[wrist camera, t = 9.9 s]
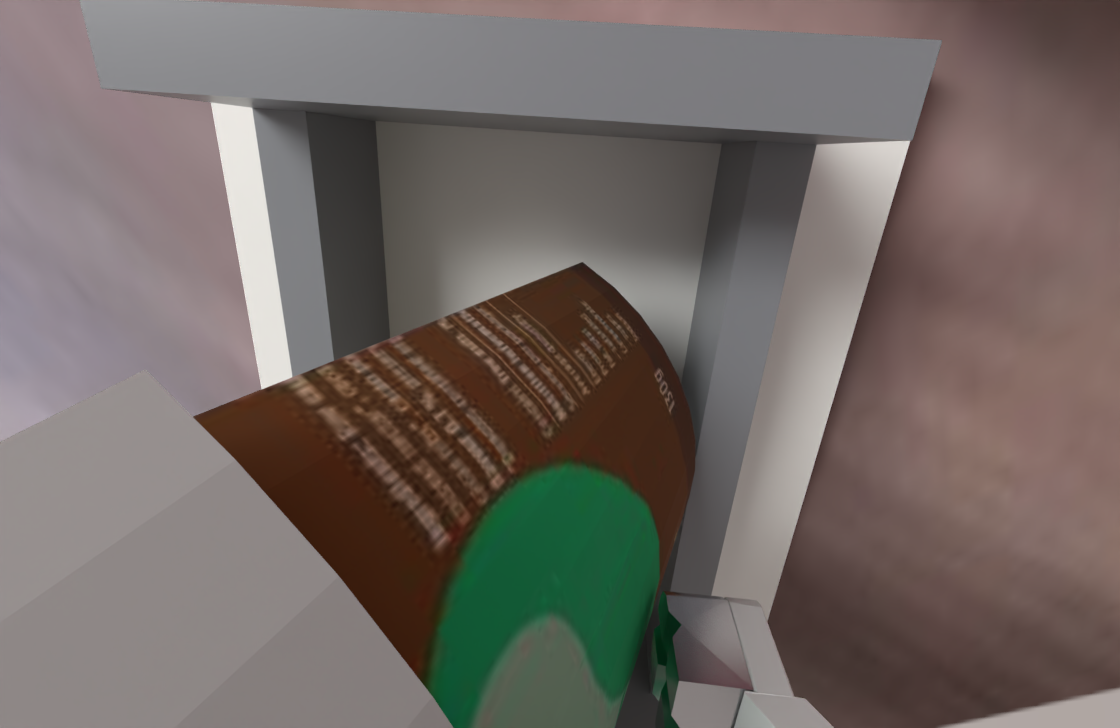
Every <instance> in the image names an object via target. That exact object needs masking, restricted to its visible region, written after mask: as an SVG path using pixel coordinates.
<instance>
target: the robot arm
mask: <svg viewBox="0 0 1120 728" xmlns="http://www.w3.org/2000/svg"><path fill="white" fill-rule="evenodd" d="M658 613H659V622H660V625H659V626H657V627H656V628H655V629H654V633H653V640H652V649H651V682H652V693H653V695H654V696H655V697H656V699H657V700H658V701H659V704H658V709H657V714H656V720H655V726H656V728H834V727H833V726H832V725H831V724H830V723H829V722H828V721H827V720H826V719H825V718H824V717H823V716H822V715H821V714H820V713H819V712H818V711H817V710H816V709H815V708H814V707H813V706H812V705H811V704H810V703H809V702H808V701H807V700H806V699H805V698H799V697H795V696H794V693H793V691H792V688H791V685H790V682H789V680H788V677H787V674H786V671H785V669H784V666H783V663H782V661H781V658H780V655H779V652H778V650H777V647H776V644H775V641H774V639H773V636H772V633H771V630H770V628H769V625H768V622H767V620H766V617H765V614H764V611H763V609H762V606H761V605H760V603H759V602H758V601H757V600H750V599H740V598H731V597H725V598H723V597H719V596H710V595H700V594H690V593H681V592H671V591H663V592H662V594H661V596H660V601H659V606H658Z"/></svg>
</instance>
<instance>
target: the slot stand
mask: <svg viewBox="0 0 1120 728" xmlns="http://www.w3.org/2000/svg"><path fill="white" fill-rule="evenodd" d="M80 5H81V9H82V13H83V17H84V21H85V25H86V29H87V33H88V37H89V41H90V45H91V49H92V53H93V57H94V61H95V65H96V69H97V73H98V77H99V81H100V85H101V88H102V89H110V90H118V91H125V92H133V93H141V94H149V95H157V96H164V97H172V98H180V99H188V100H196V101H203V102H211V105H212V111H213V117H214V122H215V128H216V134H217V139H218V145H219V151H220V156H221V162H222V168H223V173H224V179H225V185H226V190H227V196H228V202H229V207H230V213H231V219H232V224H233V230H234V235H235V241H236V247H237V252H238V258H239V264H240V269H241V275H242V281H243V286H244V292H245V298H246V303H247V309H248V315H249V320H250V326H251V332H252V337H253V343H254V349H255V354H256V360H257V366H258V371H259V377H260V383H261V388H262V389H264V388H267V387H269V386H272V385H274V384H277V383H279V382H282V381H284V380H287V379H289V378H292V377H294V376H297V375H299V374H302V373H304V372H307V371H309V370H312V369H314V368H317V367H319V366H322V365H324V364H327V363H329V362H332V361H334V360H337V359H339V358H342V357H345V356H347V355H350V354H352V353H355V352H357V351H360V350H362V349H365V348H367V347H370V346H372V345H375V344H377V343H380V342H382V341H385V340H387V339H390V338H392V337H395V336H397V335H400V334H402V333H405V332H407V331H410V330H412V329H415V328H417V327H420V326H422V325H425V324H427V323H430V322H433V321H435V320H438V319H440V318H443V317H445V316H448V315H450V314H453V313H455V312H458V311H460V310H463V309H465V308H468V307H470V306H473V305H475V304H478V303H480V302H483V301H485V300H488V299H490V298H493V297H495V296H498V295H500V294H503V293H505V292H508V291H510V290H513V289H515V288H518V287H521V286H523V285H526V284H528V283H531V282H533V281H536V280H538V279H541V278H543V277H546V276H548V275H551V274H553V273H556V272H558V271H561V270H563V269H566V268H568V267H571V266H573V265H576V264H578V263H581V262H583V263H584V264H586V265H587V266H588V267H590V268H591V269H592V270H593V271H595V272H596V273H597V274H598V275H600V276H601V277H602V278H603V279H605V280H606V281H607V282H608V283H610V284H611V285H612V286H613V287H615V288H616V289H617V291H618V292H619V293H620V294H621V295H622V296H623V297H624V298H625V299H626V300H627V301H628V302H629V303H630V304H631V305H632V306H633V307H634V309H635V310H636V311H637V312H638V313H639V314H640V315H641V316H642V318H643V319H644V320H645V322H646V323H647V325H648V326H649V327H650V329H651V330H652V332H653V333H654V334H655V336H656V337H657V339H658V340H659V341H660V343H661V344H662V346H663V348H664V350H665V351H666V353H667V355H668V357H669V359H670V361H671V363H672V365H673V367H674V369H675V371H676V373H677V374H678V376H679V379H680V382H681V384H682V387H683V390H684V393H685V396H686V399H687V402H688V405H689V408H690V411H691V417H692V423H693V429H694V435H695V441H696V446H695V473H694V478H693V482H692V487H691V491H690V496H689V499H688V502H687V505H686V508H685V511H684V514H683V518H682V521H681V524H680V527H679V530H678V533H677V536H676V539H675V542H674V545H673V549H672V552H671V555H670V558H669V561H668V564H667V567H666V570H665V573H664V576H663V580H662V583H661V586H660V589H659V592H658V595H657V598H656V601H655V604H654V607H653V611H652V614H651V617H650V620H649V623H648V626H647V629H646V632H645V635H644V638H643V642H642V645H641V648H640V651H639V654H638V657H637V660H636V663H635V666H634V669H633V673H632V676H631V679H630V682H629V685H628V688H627V691H626V694H625V697H624V700H623V704H622V707H621V710H620V713H619V716H618V719H617V722H616V725H615V728H656V726H655V720H656V714H657V709H658V704H659V701H658V700H657V699H656V697H655V696H654V695H653V693H652V682H651V649H652V640H653V633H654V629H655V628H656V627H657V626H659V625H660V622H659V613H658V606H659V601H660V596H661V594H662V592H663V591H671V592H681V593H690V594H700V595H710V596H719V597H723V598H725V597H731V598H740V599H750V600H757V601H758V602H759V603H760V605H761V606H762V609H763V611H764V614H765V617H766V620H767V621H768V618H769V614H770V611H771V608H772V604H773V601H774V598H775V594H776V591H777V587H778V584H779V581H780V577H781V574H782V571H783V567H784V564H785V561H786V557H787V554H788V550H789V547H790V544H791V540H792V537H793V534H794V530H795V527H796V524H797V520H798V517H799V513H800V510H801V507H802V503H803V500H804V497H805V493H806V490H807V487H808V483H809V480H810V476H811V473H812V470H813V466H814V463H815V460H816V456H817V453H818V450H819V446H820V443H821V439H822V436H823V433H824V429H825V426H826V423H827V419H828V416H829V413H830V409H831V406H832V402H833V399H834V396H835V392H836V389H837V386H838V382H839V379H840V376H841V372H842V369H843V365H844V362H845V359H846V355H847V352H848V349H849V345H850V342H851V339H852V335H853V332H854V328H855V325H856V322H857V318H858V315H859V312H860V308H861V305H862V302H863V298H864V295H865V291H866V288H867V285H868V281H869V278H870V275H871V271H872V268H873V264H874V261H875V258H876V254H877V251H878V248H879V244H880V241H881V238H882V234H883V231H884V227H885V224H886V221H887V217H888V214H889V211H890V207H891V204H892V201H893V197H894V194H895V190H896V187H897V184H898V180H899V177H900V174H901V170H902V167H903V164H904V160H905V157H906V153H907V150H908V147H909V143H910V141H911V140H913V137H914V133H915V130H916V127H917V123H918V120H919V117H920V113H921V110H922V107H923V103H924V100H925V96H926V93H927V90H928V86H929V83H930V80H931V76H932V73H933V70H934V66H935V63H936V60H937V56H938V53H939V50H940V46H941V43H942V40H929V39H910V38H891V37H872V36H853V35H834V34H815V33H796V32H778V31H759V30H740V29H721V28H702V27H683V26H664V25H645V24H626V23H607V22H588V21H569V20H550V19H531V18H512V17H493V16H474V15H455V14H436V13H417V12H398V11H379V10H361V9H342V8H323V7H304V6H285V5H266V4H247V3H228V2H209V1H190V0H80Z"/></svg>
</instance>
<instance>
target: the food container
mask: <svg viewBox="0 0 1120 728" xmlns="http://www.w3.org/2000/svg"><path fill="white" fill-rule="evenodd" d="M695 446H696V441H695V435H694V429H693V423H692V417H691V411H690V408H689V405H688V402H687V399H686V396H685V393H684V390H683V387H682V384H681V382H680V379H679V376H678V374H677V373H676V371H675V369H674V367H673V365H672V363H671V361H670V359H669V357H668V355H667V353H666V351H665V350H664V348H663V346H662V344H661V343H660V341H659V340H658V339H657V337H656V336H655V334H654V333H653V332H652V330H651V329H650V327H649V326H648V325H647V323H646V322H645V320H644V319H643V318H642V316H641V315H640V314H639V313H638V312H637V311H636V310H635V309H634V307H633V306H632V305H631V304H630V303H629V302H628V301H627V300H626V299H625V298H624V297H623V296H622V295H621V294H620V293H619V292H618V291H617V289H616V288H615V287H613V286H612V285H611V284H610V283H608V282H607V281H606V280H605V279H603V278H602V277H601V276H600V275H598V274H597V273H596V272H595V271H593V270H592V269H591V268H590V267H588V266H587V265H586V264H584V263H583V262H581V263H578V264H576V265H573V266H571V267H568V268H566V269H563V270H561V271H558V272H556V273H553V274H551V275H548V276H546V277H543V278H541V279H538V280H536V281H533V282H531V283H528V284H526V285H523V286H521V287H518V288H515V289H513V290H510V291H508V292H505V293H503V294H500V295H498V296H495V297H493V298H490V299H488V300H485V301H483V302H480V303H478V304H475V305H473V306H470V307H468V308H465V309H463V310H460V311H458V312H455V313H453V314H450V315H448V316H445V317H443V318H440V319H438V320H435V321H433V322H430V323H427V324H425V325H422V326H420V327H417V328H415V329H412V330H410V331H407V332H405V333H402V334H400V335H397V336H395V337H392V338H390V339H387V340H385V341H382V342H380V343H377V344H375V345H372V346H370V347H367V348H365V349H362V350H360V351H357V352H355V353H352V354H350V355H347V356H345V357H342V358H339V359H337V360H334V361H332V362H329V363H327V364H324V365H322V366H319V367H317V368H314V369H312V370H309V371H307V372H304V373H302V374H299V375H297V376H294V377H292V378H289V379H287V380H284V381H282V382H279V383H277V384H274V385H272V386H269V387H267V388H264V389H262V390H259V391H257V392H254V393H252V394H249V395H246V396H244V397H241V398H239V399H236V400H234V401H231V402H229V403H226V404H224V405H221V406H219V407H216V408H214V409H211V410H209V411H206V412H204V413H201V414H199V415H196V416H194V417H192V416H191V415H190V414H189V413H188V412H187V411H186V410H185V409H184V408H183V407H182V406H181V405H180V404H179V403H178V402H177V401H176V400H175V399H174V398H173V397H172V396H171V395H170V394H169V393H168V392H167V391H166V390H165V389H164V388H163V387H162V386H161V385H160V384H159V383H158V382H157V381H156V380H155V379H154V378H153V377H152V376H151V375H150V374H149V373H148V372H147V371H146V370H143V371H141V372H139V373H137V374H135V375H133V376H131V377H129V378H127V379H125V380H123V381H121V382H119V383H117V384H115V385H113V386H111V387H109V388H107V389H105V390H103V391H101V392H99V393H97V394H95V395H93V396H91V397H89V398H87V399H85V400H83V401H81V402H79V403H77V404H75V405H73V406H71V407H69V408H67V409H65V410H63V411H61V412H59V413H57V414H55V415H53V416H51V417H49V418H47V419H45V420H43V421H41V422H39V423H37V424H35V425H33V426H31V427H29V428H27V429H25V430H23V431H21V432H19V433H17V434H15V435H13V436H11V437H9V438H7V439H5V440H3V441H1V442H0V728H615V725H616V722H617V719H618V716H619V713H620V710H621V707H622V704H623V700H624V697H625V694H626V691H627V688H628V685H629V682H630V679H631V676H632V673H633V669H634V666H635V663H636V660H637V657H638V654H639V651H640V648H641V645H642V642H643V638H644V635H645V632H646V629H647V626H648V623H649V620H650V617H651V614H652V611H653V607H654V604H655V601H656V598H657V595H658V592H659V589H660V586H661V583H662V580H663V576H664V573H665V570H666V567H667V564H668V561H669V558H670V555H671V552H672V549H673V545H674V542H675V539H676V536H677V533H678V530H679V527H680V524H681V521H682V518H683V514H684V511H685V508H686V505H687V502H688V499H689V496H690V491H691V487H692V482H693V478H694V473H695Z"/></svg>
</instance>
